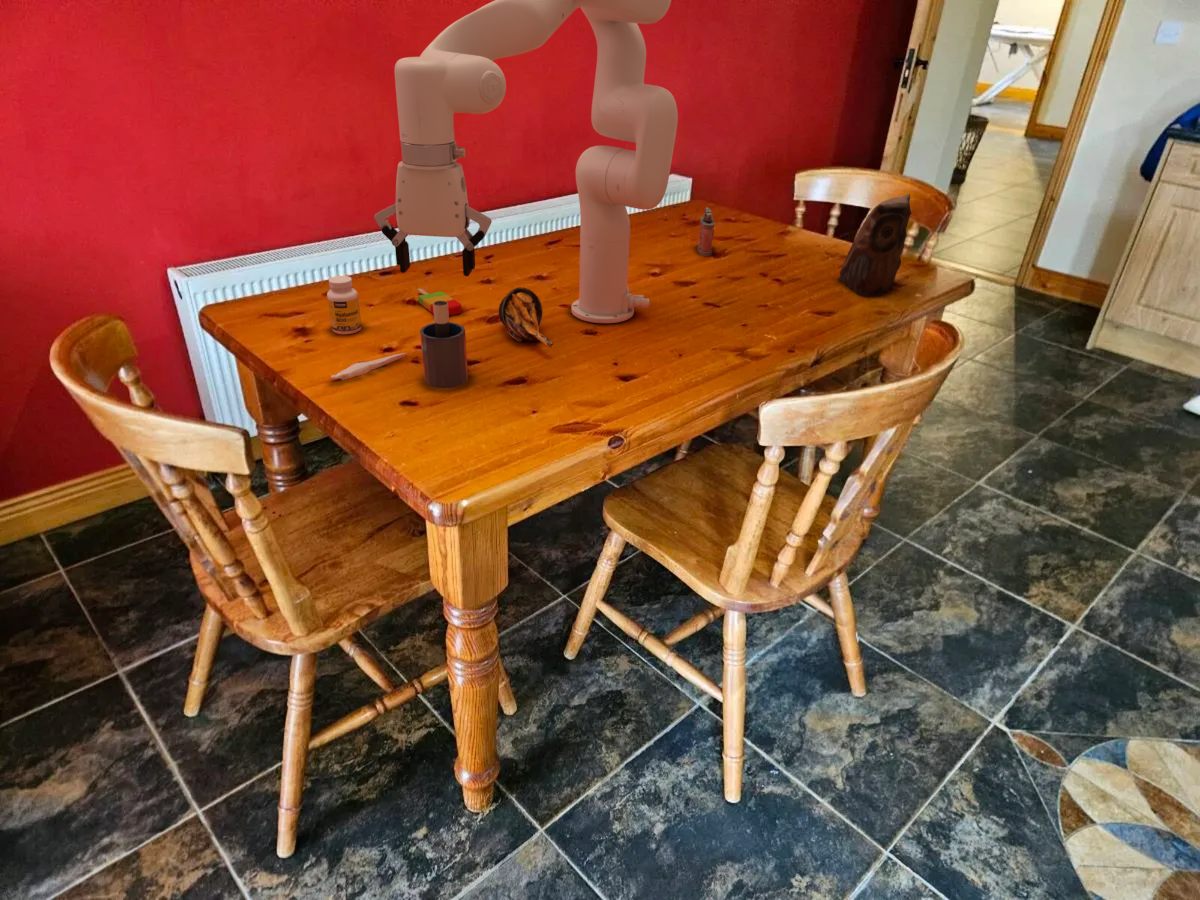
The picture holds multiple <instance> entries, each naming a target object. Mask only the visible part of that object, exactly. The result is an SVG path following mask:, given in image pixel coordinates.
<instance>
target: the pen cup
mask: <svg viewBox="0 0 1200 900" xmlns="http://www.w3.org/2000/svg"><path fill="white" fill-rule="evenodd" d="M449 330H450V337H446V338H436V331H435V322H432V323H428V324H426V325H424V326H422V327H421V328H420V330H419V337H420V349H421V358H422V370H423V379H424V382H425V384H427V385H428V386H430V387H433V388H438V389H450V388H456V387H459V386H462V385H464V384H465V383H466V382H467V381H468V379H469V371H468V369H469V367H468V354H467V353H468V352H467V339H466V337H467V336H466V329H465V327H464V325H461V324H460V323H457V322H453V321H449Z"/></svg>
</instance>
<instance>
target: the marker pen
mask: <svg viewBox="0 0 1200 900" xmlns="http://www.w3.org/2000/svg"><path fill="white" fill-rule="evenodd" d="M433 311H434V314H433V320H434V321H433V323H435V331H436V338H446V337H450V330H449V322H450V316H449V312H448V303H447V302H446V301H436V302H434V303H433Z"/></svg>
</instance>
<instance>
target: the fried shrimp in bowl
mask: <svg viewBox="0 0 1200 900" xmlns="http://www.w3.org/2000/svg"><path fill="white" fill-rule="evenodd" d="M543 314H544V313H543V305H542V301H541V300H540V297H538V295H537V294H536V293H535V292H534V291H533V290H531V289H530V288H527V287H522V286H521V287H515V288H513V289H511V290H510V291H509V292H507V294H506V295H505V296H504V297H503V298H502V299H501V302H500V303H499V307H498V316H499V320H500V323H502V325H503V326H504V327H505V329H507V330H508V334H509V335H510V336H511V337H512V338H513V339H514V340H516V341H517V342H520V343H522V342H523V341H524V340H526V341H528V342H532V343H533V342H537V341H539V342H540V343H542V344H543V345H544V346H545V347H546V348H549V349H552V346H553V345H554V342H553V341H552V340H551V339H550V338H549V337H547V336H545V335H543V334H542V333H540V328H539V327H540V325H541V323H542V319H543Z"/></svg>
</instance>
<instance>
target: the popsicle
mask: <svg viewBox="0 0 1200 900" xmlns="http://www.w3.org/2000/svg"><path fill="white" fill-rule="evenodd" d="M416 291H417V292H419V294H421V295H418V296H417V301H418V304H419V305H420V306H423V308H425V309H426V310H428V311H429V312H431V314H433V315H434V311H433V303H434V302H436V301H446V302H447V303H448V312H449V317H451V316H456V315H460V314H461V313H462V311H463V307H462V304H461V302H459V301H458V300H456V299H455V298H453V297H452V296H450V295H449V294H447V293H445V292H444V291H443V290H442V291H437V292H431V293H428V292H427V291H426V290H425V289H423V288H417V290H416Z"/></svg>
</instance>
